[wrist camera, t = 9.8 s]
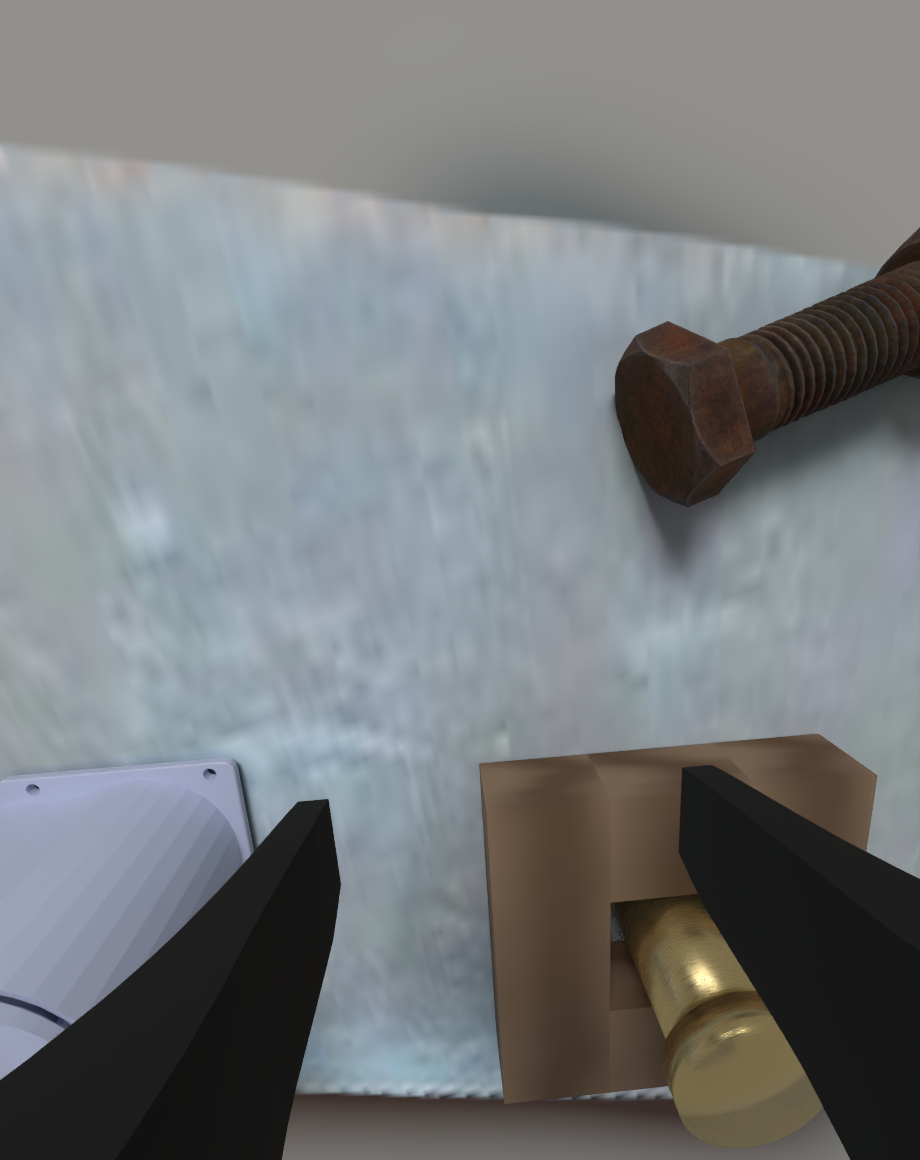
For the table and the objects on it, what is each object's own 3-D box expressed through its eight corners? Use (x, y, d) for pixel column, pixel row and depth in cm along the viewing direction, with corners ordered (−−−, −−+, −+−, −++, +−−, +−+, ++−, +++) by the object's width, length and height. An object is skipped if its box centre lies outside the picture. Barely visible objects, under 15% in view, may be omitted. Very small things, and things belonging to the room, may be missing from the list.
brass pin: (596, 930, 24) (678, 1159, 16) (591, 843, 23) (678, 1047, 15) (699, 914, 24) (828, 1134, 16) (699, 827, 23) (840, 1020, 15)
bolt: (959, 305, 20) (614, 454, 20) (1018, 146, 17) (601, 328, 17) (1141, 347, 16) (703, 536, 16) (1274, 146, 12) (711, 389, 12)
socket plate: (496, 1029, 25) (504, 1104, 22) (479, 763, 21) (486, 811, 19) (788, 997, 25) (834, 1067, 23) (818, 733, 22) (877, 775, 19)
